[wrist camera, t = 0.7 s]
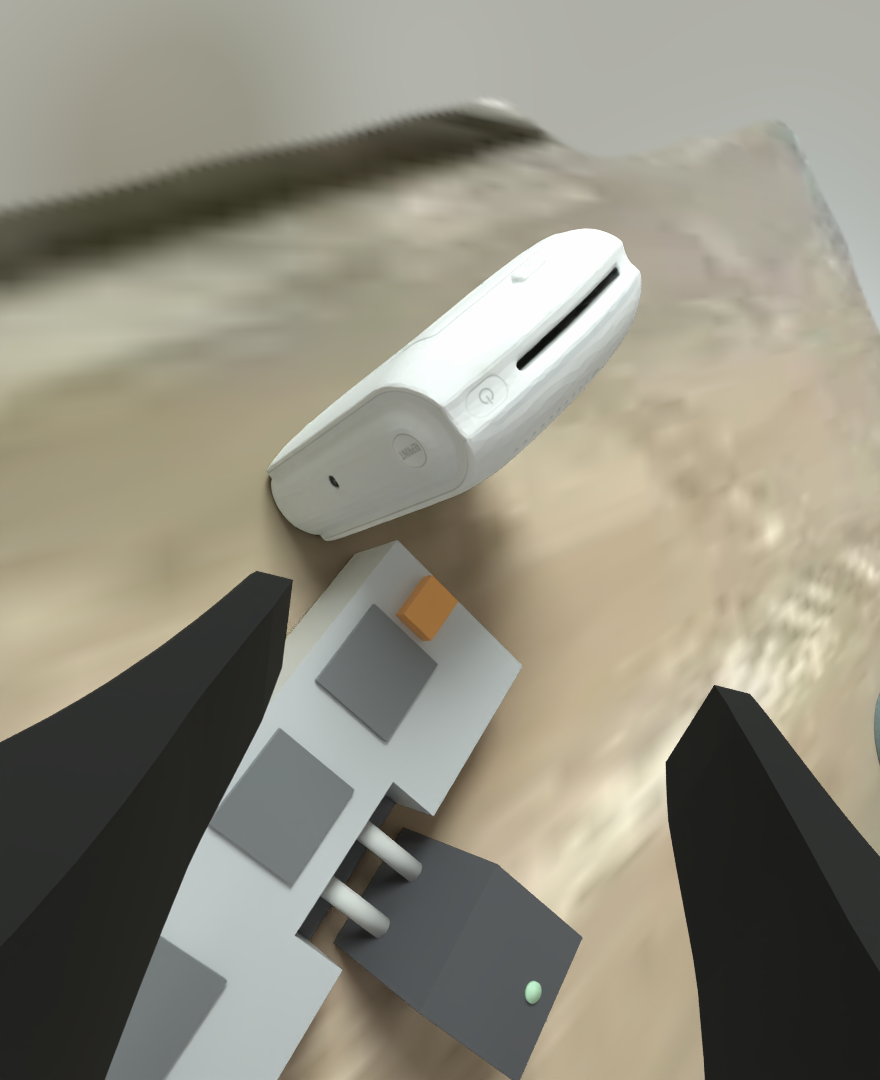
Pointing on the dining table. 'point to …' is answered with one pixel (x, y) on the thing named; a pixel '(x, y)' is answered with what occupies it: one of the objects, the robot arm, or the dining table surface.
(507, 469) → the dining table surface
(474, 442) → the photo printer
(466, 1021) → the charger
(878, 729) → the grey-green cup
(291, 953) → the power strip
